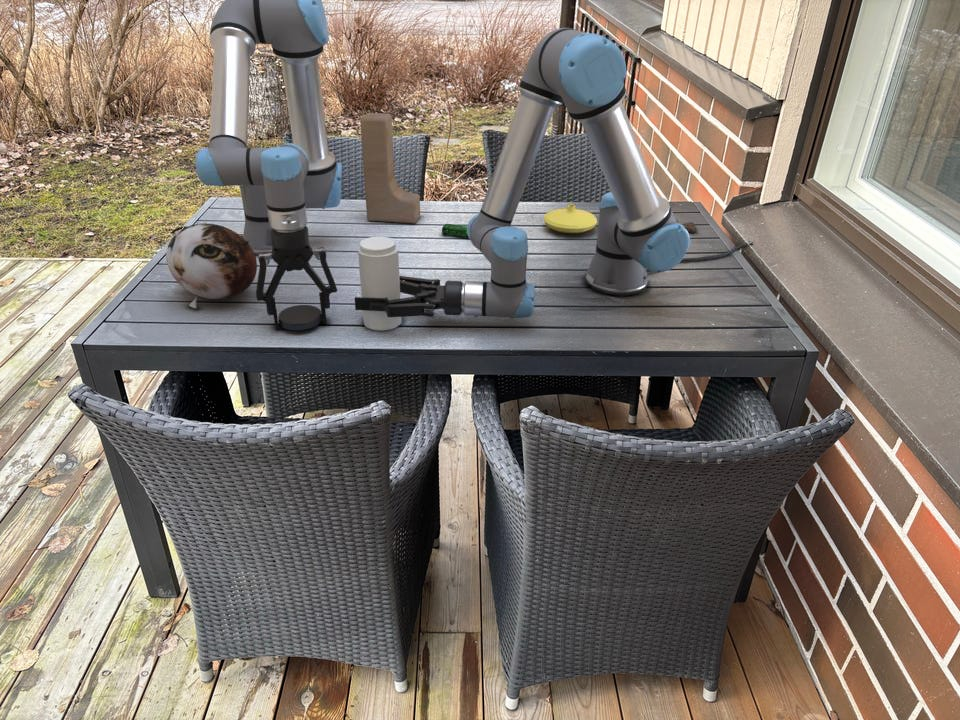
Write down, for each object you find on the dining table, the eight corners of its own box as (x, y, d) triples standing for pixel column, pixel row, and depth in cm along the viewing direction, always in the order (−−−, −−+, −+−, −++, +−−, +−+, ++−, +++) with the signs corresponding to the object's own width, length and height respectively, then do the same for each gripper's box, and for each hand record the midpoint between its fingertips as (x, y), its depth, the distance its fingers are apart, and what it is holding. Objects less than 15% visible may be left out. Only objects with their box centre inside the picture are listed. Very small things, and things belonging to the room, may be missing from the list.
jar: (360, 315, 162) (354, 237, 152) (397, 311, 164) (393, 233, 154) (367, 332, 155) (361, 252, 145) (405, 327, 157) (401, 248, 147)
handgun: (511, 219, 210) (493, 234, 198) (511, 228, 211) (492, 244, 199) (461, 212, 215) (440, 226, 203) (461, 221, 217) (440, 236, 204)
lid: (330, 318, 157) (330, 311, 157) (299, 334, 151) (298, 327, 150) (302, 307, 162) (301, 301, 161) (270, 322, 156) (269, 316, 155)
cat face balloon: (130, 285, 161) (164, 203, 163) (192, 308, 177) (221, 233, 178) (195, 307, 151) (229, 220, 152) (254, 330, 166) (285, 250, 168)
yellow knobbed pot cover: (559, 216, 220) (561, 193, 217) (605, 227, 212) (608, 204, 209) (532, 230, 209) (533, 207, 206) (580, 242, 201) (582, 218, 198)
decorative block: (415, 224, 212) (412, 120, 197) (366, 221, 214) (359, 117, 199) (420, 215, 219) (417, 114, 203) (373, 212, 220) (366, 112, 205)
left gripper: (232, 238, 140) (249, 338, 151) (346, 228, 146) (354, 325, 157) (231, 225, 146) (247, 323, 157) (340, 216, 152) (348, 311, 163)
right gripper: (458, 337, 148) (350, 332, 149) (466, 293, 166) (370, 289, 167) (458, 304, 144) (347, 300, 145) (466, 263, 162) (368, 259, 163)
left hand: (300, 324), depth 157 cm, fingers open, 9 cm apart
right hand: (359, 294), depth 156 cm, fingers closed on jar, 8 cm apart
